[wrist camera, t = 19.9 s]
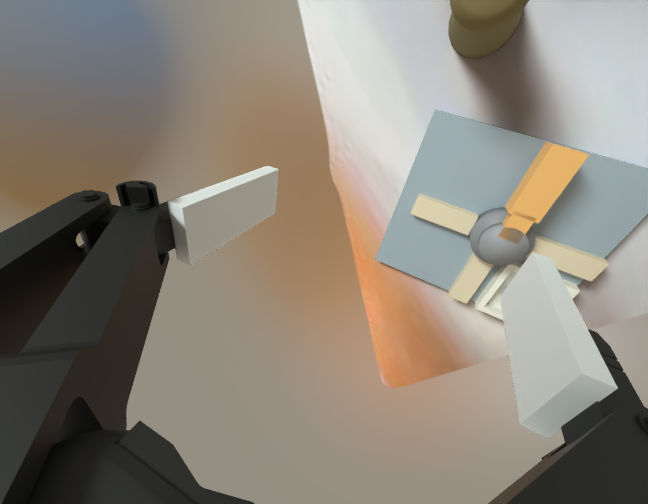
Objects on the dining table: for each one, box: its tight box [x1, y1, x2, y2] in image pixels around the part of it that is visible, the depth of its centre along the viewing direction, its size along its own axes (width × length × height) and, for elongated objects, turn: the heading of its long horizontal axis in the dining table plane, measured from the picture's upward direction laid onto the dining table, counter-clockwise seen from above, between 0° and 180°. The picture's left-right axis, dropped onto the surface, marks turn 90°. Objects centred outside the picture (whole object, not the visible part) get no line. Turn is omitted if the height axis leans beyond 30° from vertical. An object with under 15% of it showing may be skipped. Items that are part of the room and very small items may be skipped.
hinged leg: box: [478, 142, 589, 265], centre depth 27 cm, size 12×4×2 cm, turn 166°
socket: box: [475, 262, 580, 320], centre depth 33 cm, size 7×7×2 cm
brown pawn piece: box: [449, 0, 529, 58], centre depth 21 cm, size 6×6×11 cm
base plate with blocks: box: [375, 110, 648, 304], centre depth 31 cm, size 20×22×4 cm
